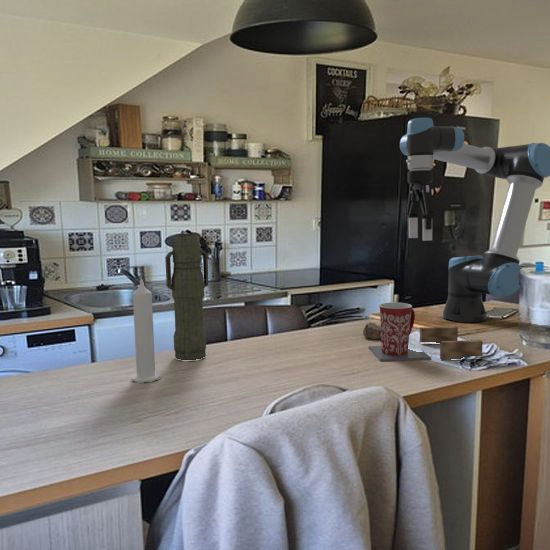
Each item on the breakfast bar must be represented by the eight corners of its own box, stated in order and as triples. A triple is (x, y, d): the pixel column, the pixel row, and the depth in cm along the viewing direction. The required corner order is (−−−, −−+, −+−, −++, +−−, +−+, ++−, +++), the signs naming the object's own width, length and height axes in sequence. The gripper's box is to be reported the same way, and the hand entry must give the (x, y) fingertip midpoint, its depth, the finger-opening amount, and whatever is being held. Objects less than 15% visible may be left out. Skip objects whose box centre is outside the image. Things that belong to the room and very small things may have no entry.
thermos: (164, 357, 157) (159, 234, 153) (202, 351, 164) (197, 232, 160) (177, 364, 150) (172, 235, 146) (216, 357, 157) (212, 233, 152)
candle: (130, 376, 140) (125, 278, 137) (158, 373, 142) (153, 276, 139) (133, 384, 133) (128, 282, 130) (163, 381, 136) (158, 280, 133)
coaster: (415, 346, 164) (415, 344, 164) (430, 359, 150) (431, 357, 150) (368, 348, 164) (368, 346, 164) (380, 361, 150) (380, 359, 150)
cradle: (455, 342, 169) (455, 326, 168) (482, 359, 150) (482, 341, 149) (419, 343, 168) (420, 327, 167) (442, 360, 149) (442, 342, 148)
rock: (364, 341, 173) (396, 335, 172) (361, 322, 174) (392, 316, 173) (364, 341, 182) (394, 336, 181) (360, 324, 183) (390, 318, 182)
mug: (396, 358, 150) (397, 309, 148) (371, 351, 157) (372, 304, 155) (425, 350, 158) (427, 304, 156) (400, 344, 165) (401, 299, 163)
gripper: (396, 173, 183) (396, 237, 185) (421, 167, 158) (421, 242, 161) (418, 172, 183) (418, 236, 186) (447, 167, 158) (446, 241, 161)
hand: (420, 239), depth 173 cm, fingers open, 13 cm apart
